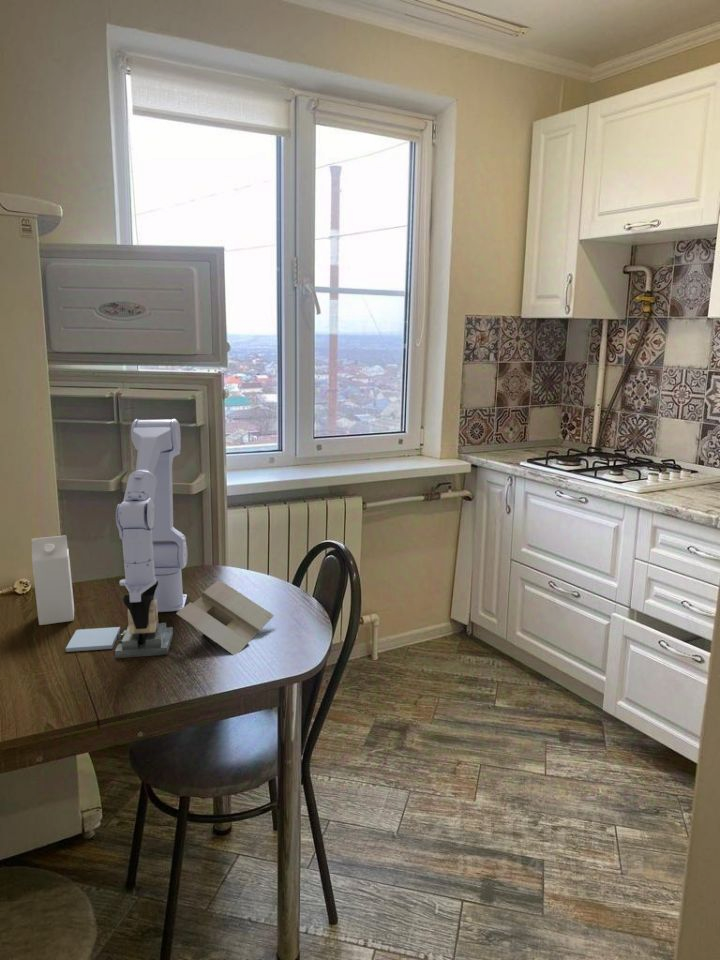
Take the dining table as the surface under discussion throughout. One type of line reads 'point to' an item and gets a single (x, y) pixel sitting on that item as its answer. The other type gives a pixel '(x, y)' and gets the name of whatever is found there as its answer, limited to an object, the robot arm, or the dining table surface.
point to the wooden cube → (151, 620)
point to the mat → (93, 639)
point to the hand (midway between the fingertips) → (143, 622)
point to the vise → (144, 642)
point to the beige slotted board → (226, 616)
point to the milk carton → (52, 580)
